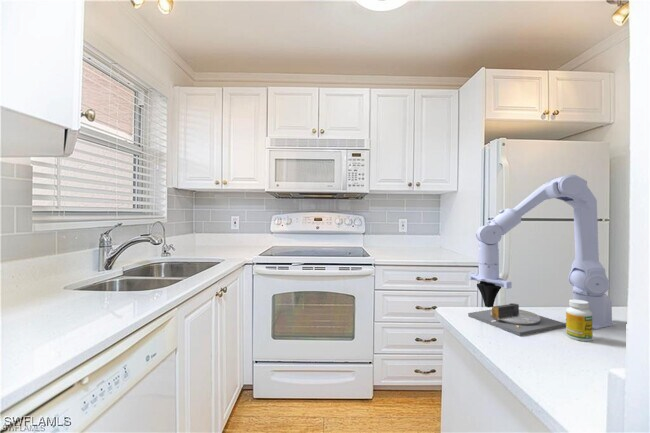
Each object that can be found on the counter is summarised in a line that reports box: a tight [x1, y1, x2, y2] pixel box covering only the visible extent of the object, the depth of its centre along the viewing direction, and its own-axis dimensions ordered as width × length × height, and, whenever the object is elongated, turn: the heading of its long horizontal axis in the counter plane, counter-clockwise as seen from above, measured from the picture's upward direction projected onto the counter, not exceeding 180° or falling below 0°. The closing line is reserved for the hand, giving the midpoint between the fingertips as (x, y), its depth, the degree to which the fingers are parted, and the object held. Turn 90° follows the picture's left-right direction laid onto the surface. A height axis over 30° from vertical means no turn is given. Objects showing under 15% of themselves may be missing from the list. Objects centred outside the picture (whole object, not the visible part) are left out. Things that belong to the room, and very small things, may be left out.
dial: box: [490, 303, 540, 325], centre depth 96 cm, size 14×13×4 cm
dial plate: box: [467, 308, 566, 337], centre depth 96 cm, size 18×18×1 cm
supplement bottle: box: [565, 298, 593, 342], centre depth 83 cm, size 5×5×10 cm
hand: (489, 306), depth 100 cm, fingers closed
